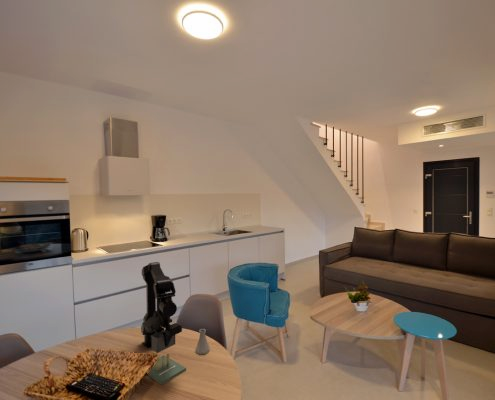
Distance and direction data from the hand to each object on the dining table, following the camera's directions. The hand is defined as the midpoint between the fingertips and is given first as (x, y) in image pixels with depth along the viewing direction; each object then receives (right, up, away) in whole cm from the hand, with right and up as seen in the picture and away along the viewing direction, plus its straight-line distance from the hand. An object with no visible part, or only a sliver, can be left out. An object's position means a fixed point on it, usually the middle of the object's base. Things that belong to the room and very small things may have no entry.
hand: (163, 344), depth 119 cm
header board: (0, -11, 0) cm, 11 cm away
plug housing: (0, -1, 0) cm, 1 cm away
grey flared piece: (+14, -11, +15) cm, 24 cm away
